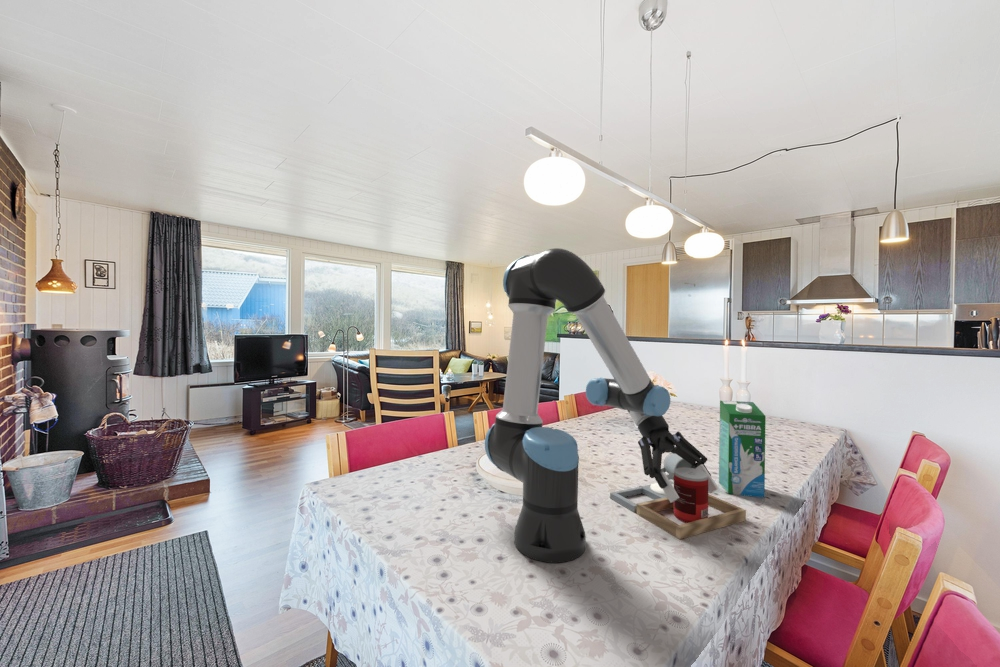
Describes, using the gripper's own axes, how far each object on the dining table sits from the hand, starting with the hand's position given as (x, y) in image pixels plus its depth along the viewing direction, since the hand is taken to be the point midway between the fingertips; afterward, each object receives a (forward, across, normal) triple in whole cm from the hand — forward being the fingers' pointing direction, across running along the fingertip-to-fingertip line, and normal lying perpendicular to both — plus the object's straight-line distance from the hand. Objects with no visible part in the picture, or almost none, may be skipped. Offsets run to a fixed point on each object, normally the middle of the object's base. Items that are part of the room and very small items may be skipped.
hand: (695, 495), depth 96 cm
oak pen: (+3, +1, -4) cm, 6 cm away
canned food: (+4, +1, -5) cm, 6 cm away
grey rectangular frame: (-5, +1, -13) cm, 14 cm away
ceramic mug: (-10, -17, -19) cm, 27 cm away
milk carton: (-1, -27, -9) cm, 29 cm away
